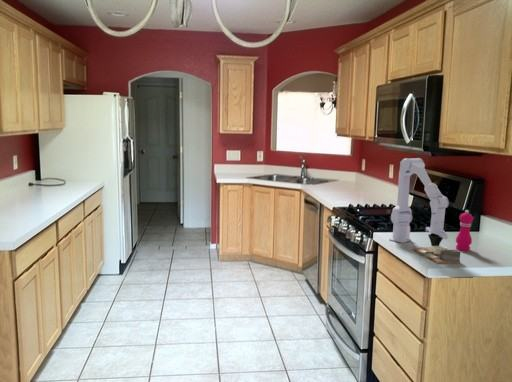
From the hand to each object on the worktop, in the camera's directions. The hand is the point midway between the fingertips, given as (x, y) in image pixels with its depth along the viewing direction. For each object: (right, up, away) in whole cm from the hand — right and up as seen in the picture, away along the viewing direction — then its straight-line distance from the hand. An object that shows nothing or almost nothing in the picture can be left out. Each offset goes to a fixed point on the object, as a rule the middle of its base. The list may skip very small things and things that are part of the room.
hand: (434, 249), depth 213 cm
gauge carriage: (-1, -1, -3) cm, 4 cm away
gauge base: (-1, -3, -3) cm, 4 cm away
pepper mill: (+18, -1, +9) cm, 20 cm away
